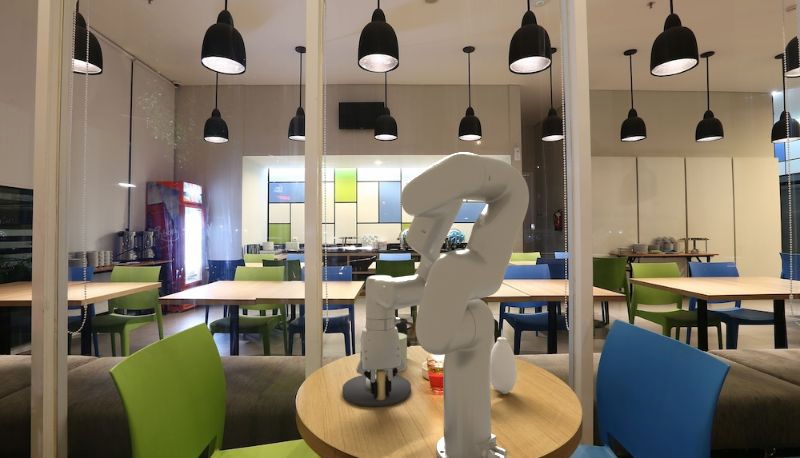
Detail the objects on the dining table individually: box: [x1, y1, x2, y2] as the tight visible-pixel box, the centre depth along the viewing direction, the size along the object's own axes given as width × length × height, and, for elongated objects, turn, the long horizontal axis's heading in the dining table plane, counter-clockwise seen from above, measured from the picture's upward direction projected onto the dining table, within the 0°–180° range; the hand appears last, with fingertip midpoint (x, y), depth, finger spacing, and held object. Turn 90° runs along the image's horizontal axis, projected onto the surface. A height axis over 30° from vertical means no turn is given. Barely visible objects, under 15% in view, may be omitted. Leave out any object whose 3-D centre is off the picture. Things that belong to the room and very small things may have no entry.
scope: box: [396, 317, 412, 348], centre depth 135 cm, size 8×14×10 cm
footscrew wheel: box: [342, 369, 412, 408], centre depth 103 cm, size 19×19×8 cm
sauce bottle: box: [490, 329, 518, 395], centre depth 105 cm, size 8×8×18 cm
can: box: [384, 333, 408, 373], centre depth 122 cm, size 9×9×12 cm
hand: (380, 394), depth 95 cm, fingers closed on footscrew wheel, 2 cm apart
